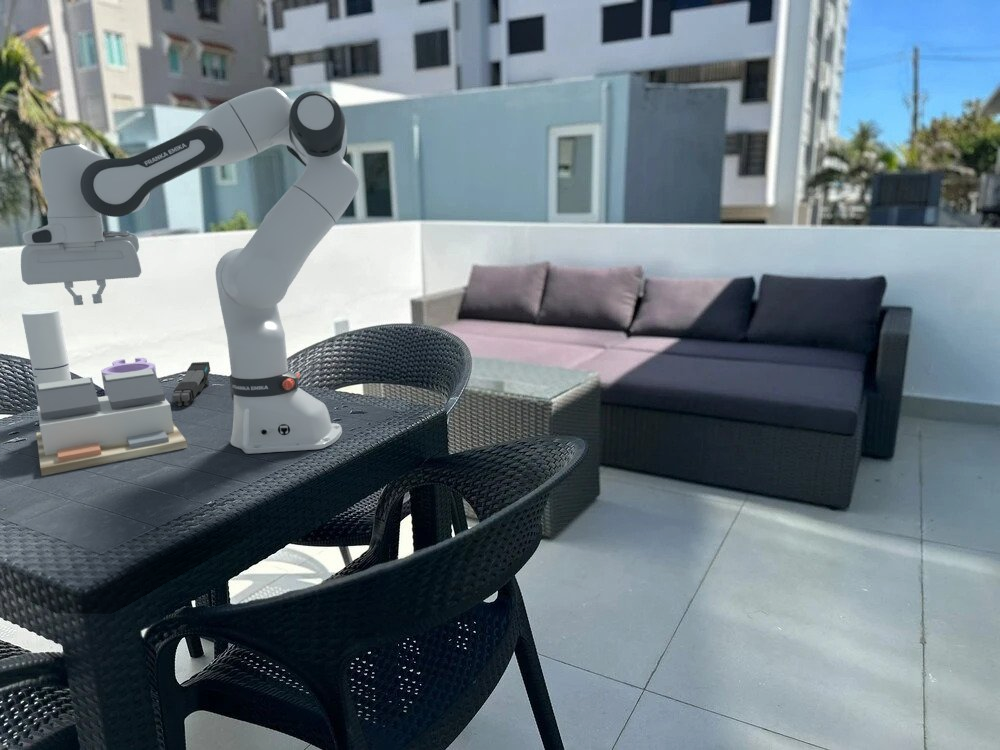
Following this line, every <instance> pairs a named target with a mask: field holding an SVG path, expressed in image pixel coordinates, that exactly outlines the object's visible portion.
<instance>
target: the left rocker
mask: <svg viewBox="0 0 1000 750" xmlns="http://www.w3.org/2000/svg"><path fill="white" fill-rule="evenodd" d="M36 389H37V393H36V396H37V395H38V398H37V402H38V401H39V404H38V406H39V407H40V413H41V418H42V420H46V419H53V418H59V417H65V416H72V415H78V414H85V413H91V412H97V411H101V410H100V404H99V400H98V397H99V396H98V393H97V391H96V388H95V383H94V381H93V377H90V376H89V377H87V376H86V377H81V378H75V379H74V378H71V380H65V381H57V382H50V383H42V384H38V385H36V388H35V390H36Z"/></svg>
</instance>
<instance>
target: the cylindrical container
mask: <svg viewBox="0 0 1000 750" xmlns="http://www.w3.org/2000/svg"><path fill="white" fill-rule="evenodd" d="M21 317H22V322H23V327H24V328H23V329H24V332H25V339H26V343H27V349H28V354H29V359H30V365H31V369H32V375H33V381H34V386H35V391H36V393H35V394H36V398H37V399H38V395H37V389H36V385H38V384H42V383H50V382H57V381H65V380H72V375H71V370H70V365H69V358H68V352H67V347H66V340H65V335H64V330H63V329H64V328H63V324H62V317H61V311H60V309H56V308H55V309H53V308H52V309H51V308H49V309H47V308H46V309H36V310H29V311H24V312H21ZM37 403H38V405H39V401H38V400H37Z"/></svg>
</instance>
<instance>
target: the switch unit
mask: <svg viewBox="0 0 1000 750" xmlns="http://www.w3.org/2000/svg"><path fill="white" fill-rule="evenodd" d="M97 397H98V400H99V404H100V410H101V411H97V412H91V413H85V414H78V415H72V416H65V417H59V418H53V419H46V420H42V418H41V413H40V407H39V405H37V406H36V408H37V415H38V422H39V430H40V431H37V432H36V440H37V449H38V459H39V468H40V472H41V476H42V477H44V476H49V475H55V474H59V473H65V472H69V471H75V470H79V469H85V468H90V467H95V466H100V465H104V464H105V465H106V464H111V463H114V462H115V463H116V462H120V461H127V460H130V459H131V460H132V459H137V458H141V457H147V456H151V455H158V454H162V453H167V452H172V451H177V450H182V449H183V450H184V449H188V443H187V440H186V438H185V437H184V436H183V434H182V432H181V431H180V430H179V429H178V427H177V426H176V425H175V423H174V421H173V413H172V407H171V403H170V402H169V401H168V400H167V399H166V398H165V401H160V402H154V403H147V404H141V405H135V406H128V407H122V408H116V409H112V408H111V405H110V402H109V399H108V396H105V395H104V396H97Z"/></svg>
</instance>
